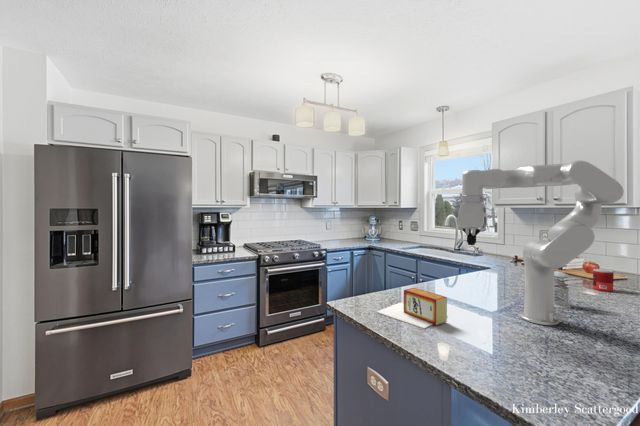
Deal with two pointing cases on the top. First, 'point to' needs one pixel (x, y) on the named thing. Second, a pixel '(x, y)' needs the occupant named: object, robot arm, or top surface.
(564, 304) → the french press
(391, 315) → the mat
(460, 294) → the top surface
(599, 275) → the canned food
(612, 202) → the robot arm
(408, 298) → the baking soda box
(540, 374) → the top surface
